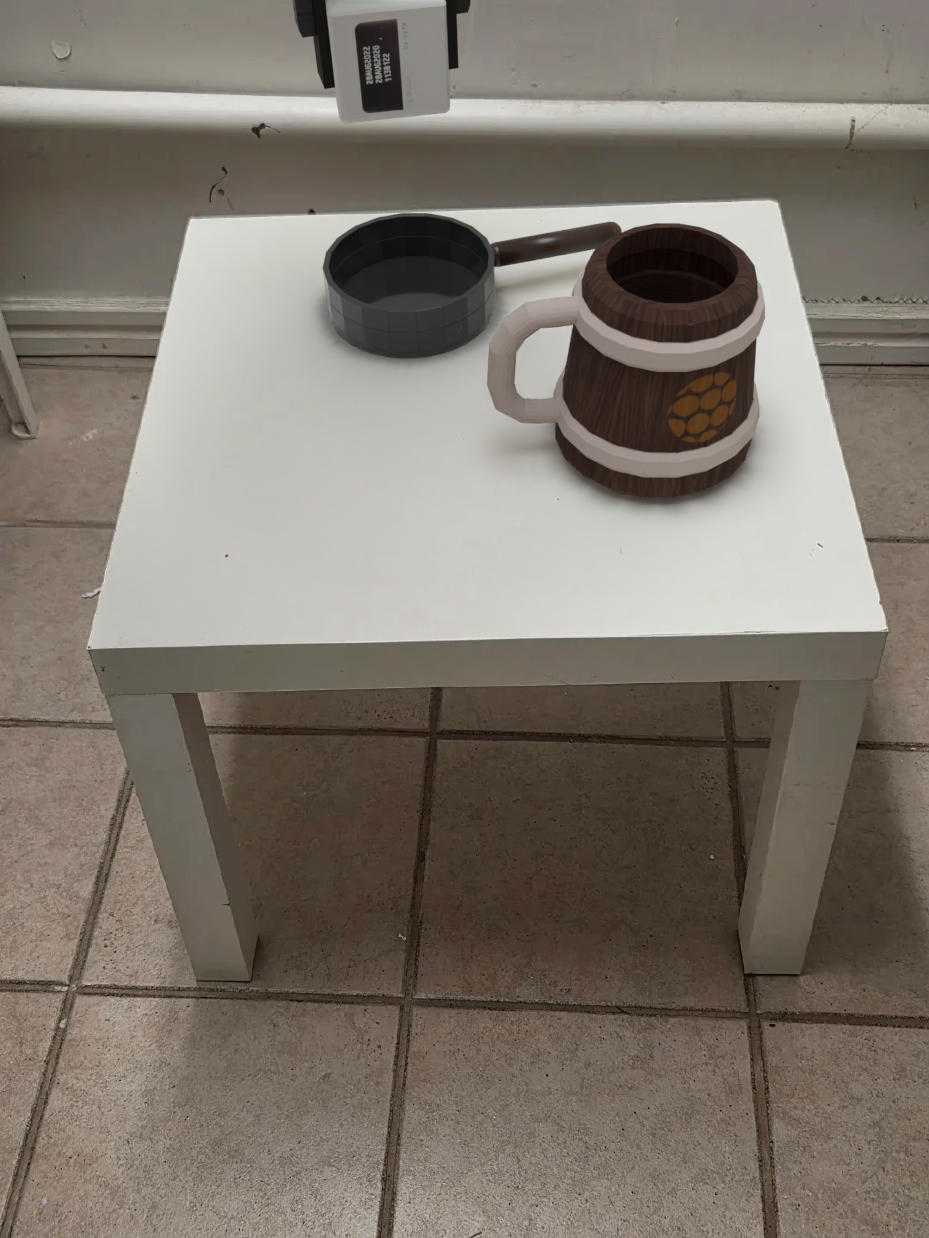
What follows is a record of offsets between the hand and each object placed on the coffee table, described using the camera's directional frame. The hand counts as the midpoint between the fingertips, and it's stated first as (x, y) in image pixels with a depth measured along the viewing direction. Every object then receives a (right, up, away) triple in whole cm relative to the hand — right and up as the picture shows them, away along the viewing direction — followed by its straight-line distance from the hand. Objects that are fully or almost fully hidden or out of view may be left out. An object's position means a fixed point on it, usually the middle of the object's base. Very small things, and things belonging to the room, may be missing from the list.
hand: (387, 69), depth 84 cm
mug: (+17, -25, +6) cm, 31 cm away
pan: (+1, -12, +17) cm, 21 cm away
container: (0, -1, +1) cm, 2 cm away
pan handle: (+13, -8, +17) cm, 23 cm away
